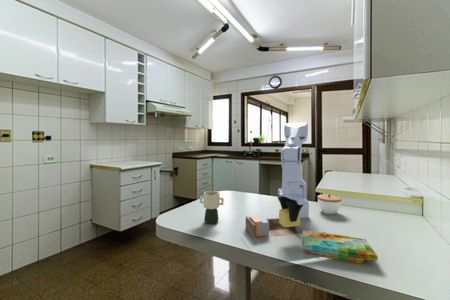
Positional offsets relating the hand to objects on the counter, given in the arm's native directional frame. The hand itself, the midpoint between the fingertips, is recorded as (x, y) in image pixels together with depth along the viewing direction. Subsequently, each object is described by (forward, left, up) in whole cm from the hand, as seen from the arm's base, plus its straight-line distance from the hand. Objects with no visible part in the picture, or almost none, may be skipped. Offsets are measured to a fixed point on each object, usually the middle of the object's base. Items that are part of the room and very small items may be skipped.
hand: (289, 218), depth 77 cm
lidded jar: (-36, -24, -9) cm, 44 cm away
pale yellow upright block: (0, 0, -2) cm, 2 cm away
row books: (+8, -8, -8) cm, 14 cm away
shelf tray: (+2, -8, -8) cm, 12 cm away
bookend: (-7, -8, -8) cm, 13 cm away
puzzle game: (-11, +10, -9) cm, 17 cm away
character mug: (+24, -24, -9) cm, 35 cm away
